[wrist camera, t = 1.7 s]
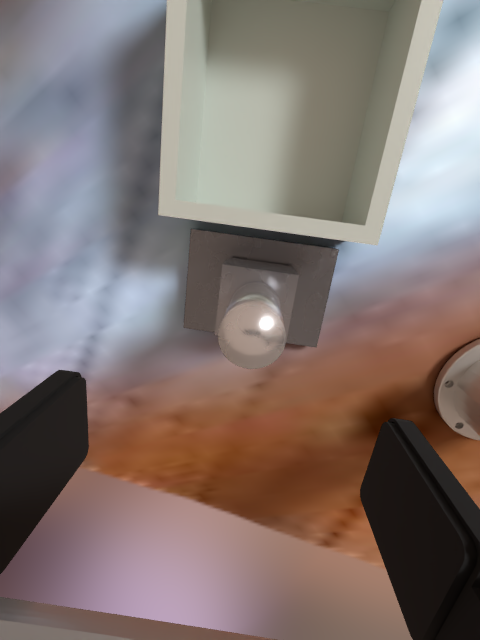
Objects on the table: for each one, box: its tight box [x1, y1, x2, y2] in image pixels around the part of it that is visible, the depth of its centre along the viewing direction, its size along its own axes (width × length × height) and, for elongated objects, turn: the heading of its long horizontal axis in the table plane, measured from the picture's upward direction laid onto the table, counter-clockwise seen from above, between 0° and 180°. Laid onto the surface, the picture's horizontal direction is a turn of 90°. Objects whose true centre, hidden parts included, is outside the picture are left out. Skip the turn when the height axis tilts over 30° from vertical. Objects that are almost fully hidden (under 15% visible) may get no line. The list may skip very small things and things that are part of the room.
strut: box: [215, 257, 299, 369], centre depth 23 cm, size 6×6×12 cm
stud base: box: [184, 229, 339, 347], centre depth 28 cm, size 14×10×6 cm
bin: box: [158, 0, 443, 245], centre depth 23 cm, size 16×18×8 cm
